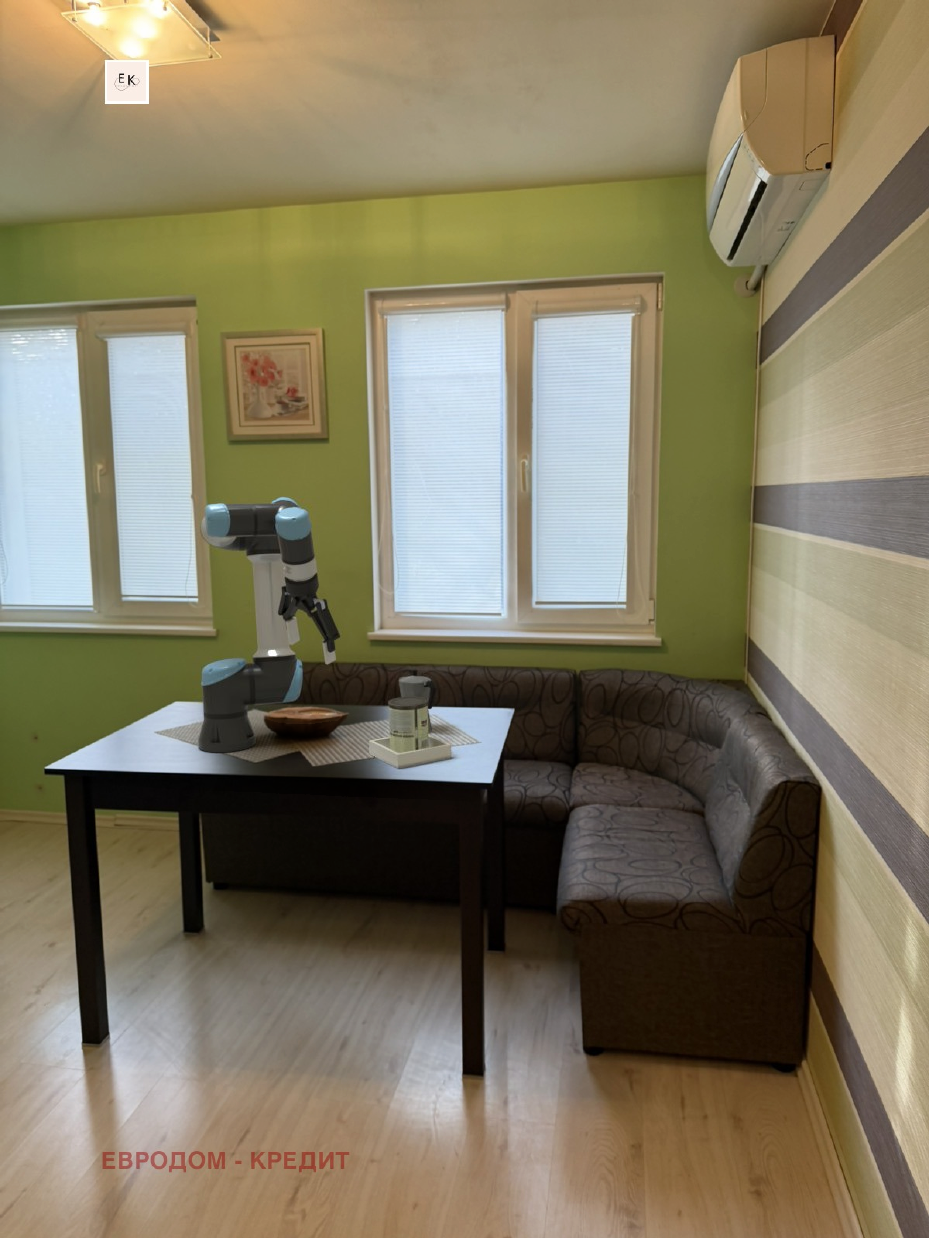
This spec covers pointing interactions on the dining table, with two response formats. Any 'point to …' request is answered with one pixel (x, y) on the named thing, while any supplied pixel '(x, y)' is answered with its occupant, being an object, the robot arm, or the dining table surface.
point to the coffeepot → (418, 689)
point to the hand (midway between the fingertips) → (312, 651)
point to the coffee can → (408, 724)
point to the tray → (410, 753)
